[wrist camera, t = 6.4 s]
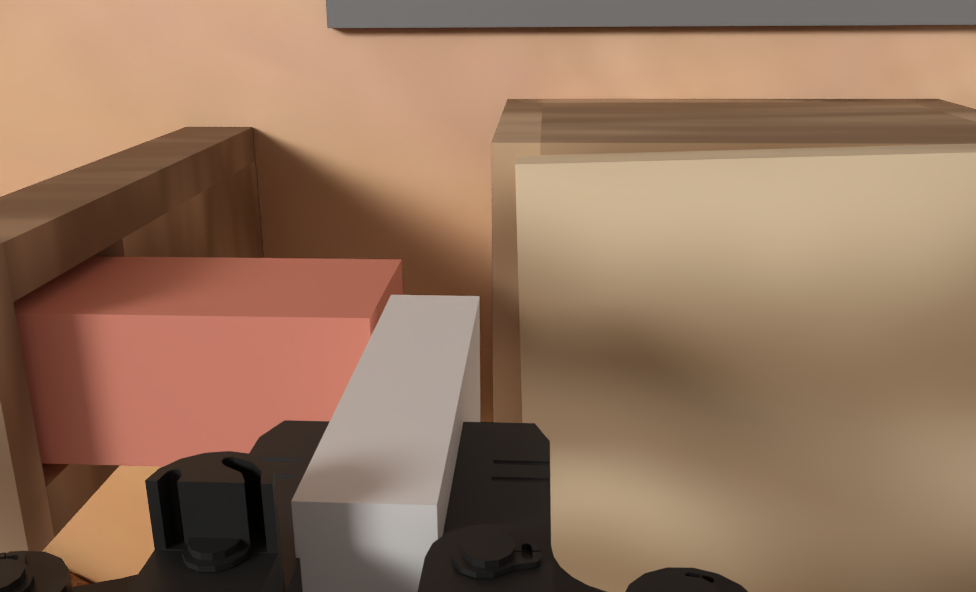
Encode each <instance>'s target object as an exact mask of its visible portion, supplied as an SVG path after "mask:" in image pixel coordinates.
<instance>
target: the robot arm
mask: <svg viewBox="0 0 976 592" xmlns="http://www.w3.org/2000/svg"><path fill="white" fill-rule="evenodd" d="M145 482H146V490H147V497H148V504H149V511H150V518H151V526H152V533H153V540H154V547H155V550H154V552H153V553H152V555H151V556H150V558H149V559H148V561H147V562H146V564H145V565H144V567H143V568H142V570H141V571H140V572H139V574H138V575H133V576H129V577H125V578H121V579H115V580H110V581H104V582H98V583H92V584H86V585H80V586H74V587H72V584H71V578H70V572H69V569H68V568H67V566H66V565H65V563H64V562H63V560H62V559H61V558H59V557H56V556H54V555H52V554H49V553H47V552H39V551H10V552H8V553H5V552H3V553H0V592H607V591H603V590H600V589H598V588H595V587H592V586H589V585H586V584H585V583H583V582H581V581H579V580H577V579H575V578H574V577H572V576H571V575H570V574H568V573H567V572H566V571H565V570H564V569H563V568H561V567H560V565H559V564H558V562H557V561H556V559H555V558H554V556H553V552H552V547H551V496H550V441H549V440H548V438H547V437H546V436H545V435H544V434H543V433H542V431H541V430H540V429H539V428H538V427H537V425H536V424H535V423H500V422H480V296H441V295H391V296H390V298H389V300H388V302H387V304H386V306H385V308H384V310H383V312H382V315H381V317H380V319H379V321H378V323H377V325H376V327H375V329H374V331H373V333H372V335H371V337H370V339H369V341H368V343H367V346H366V348H365V350H364V352H363V354H362V356H361V358H360V360H359V362H358V364H357V366H356V368H355V370H354V372H353V375H352V377H351V379H350V381H349V383H348V385H347V387H346V389H345V391H344V393H343V395H342V397H341V399H340V401H339V403H338V406H337V408H336V410H335V412H334V414H333V416H332V418H331V420H330V421H293V420H284V421H283V422H281V423H280V424H278V425H277V426H275V427H274V428H272V429H271V430H269V431H268V432H266V433H265V434H263V435H262V436H260V437H259V438H258V440H257V441H256V443H255V445H254V446H253V448H252V450H251V451H250V453H249V454H248V453H241V452H233V451H222V452H208V453H202V454H198V455H194V456H189V457H185V458H181V459H179V460H177V461H174V462H172V463H170V464H168V465H166V466H164V467H161V468H159V469H158V470H157V471H156V472H155V473H154V474H152V475H151V476H150V477H149V478H148V479H146V480H145ZM626 592H748V591H747V590H746V589H745V588H744V587H743V586H742V585H740V584H738V583H736V582H734V581H732V580H730V579H728V578H726V577H724V576H722V575H720V574H718V573H714V572H709V571H705V570H701V569H697V568H680V567H667V568H663V569H659V570H655V571H651V572H647V573H644V574H643V575H642V576H640V577H639V578H637V579H636V580H634V581H633V582H631V583H630V584H629V585H628V587H627V590H626Z"/></svg>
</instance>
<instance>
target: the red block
mask: <svg viewBox="0 0 976 592" xmlns="http://www.w3.org/2000/svg"><path fill="white" fill-rule="evenodd" d="M391 295H403V281H402V259H313V258H211V257H110V256H92V257H90V258H88V259H86V260H85V261H83V262H81V263H80V264H78V265H76V266H74V267H73V268H71V269H69V270H68V271H66V272H64V273H62V274H61V275H59V276H57V277H56V278H54V279H52V280H50V281H49V282H47V283H45V284H44V285H42V286H40V287H38V288H37V289H35V290H33V291H32V292H30V293H28V294H26V295H25V296H23V297H21V298H20V299H18V300H16V301H14V302H13V303H14V309H15V315H16V321H17V326H18V332H19V338H20V343H21V349H22V355H23V361H24V366H25V372H26V378H27V383H28V389H29V395H30V401H31V406H32V412H33V418H34V423H35V429H36V435H37V441H38V446H39V452H40V458H41V463H43V464H85V465H127V466H166V465H168V464H170V463H172V462H174V461H177V460H179V459H181V458H185V457H189V456H194V455H198V454H202V453H208V452H222V451H233V452H241V453H248V454H249V453H250V451H251V450H252V448H253V446H254V445H255V443H256V441H257V440H258V438H259V437H260V436H262V435H263V434H265V433H266V432H268V431H269V430H271V429H272V428H274V427H275V426H277V425H278V424H280V423H281V422H283V421H284V420H293V421H330V420H331V418H332V416H333V414H334V412H335V410H336V408H337V406H338V403H339V401H340V399H341V397H342V395H343V393H344V391H345V389H346V387H347V385H348V383H349V381H350V379H351V377H352V375H353V372H354V370H355V368H356V366H357V364H358V362H359V360H360V358H361V356H362V354H363V352H364V350H365V348H366V346H367V343H368V341H369V339H370V337H371V335H372V333H373V331H374V329H375V327H376V325H377V323H378V321H379V319H380V317H381V315H382V312H383V310H384V308H385V306H386V304H387V302H388V300H389V298H390V296H391Z"/></svg>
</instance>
